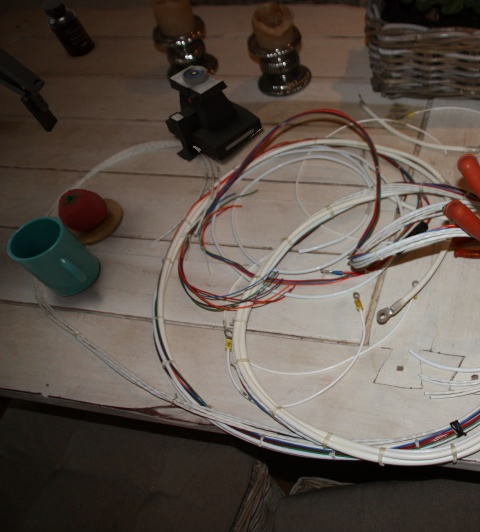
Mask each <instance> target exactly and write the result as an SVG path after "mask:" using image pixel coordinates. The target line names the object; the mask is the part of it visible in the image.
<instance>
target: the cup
mask: <svg viewBox="0 0 480 532" xmlns="http://www.w3.org/2000/svg"><path fill="white" fill-rule="evenodd" d="M6 251H7V255H8V256H9V257H10V258H11V259H12V260H13V261H14V262H15V263H17V264H18V265H19V266H20V267H21V268H22V269H24V270H25V271H26V272H27V273H28V274H30V275H31V276H32V277H33V278H35V279H36V280H37V281H38V282H40V284H42V285H43V286H45V288H46V289H48V290H49V291H50V292H51V293H54V294H55V295H57V296H62V297H69V296H73V295H76V294H80V293H82V292H83V291H85V290H86V289H88V288H89V287H90V286H91V285H92V284H93V283H94V282H95V280H96V279H97V277H98V276H99V273H100V262H99V260H98V258H97V257H96V256H95V254H93V253H92V251H91V250H90V249H89V248H88V247H87V246H86V245H84V244H83V243H82V242H81V241H80V240H79V239H78V238H77V237H76V236H75V235H74V234H73V233H72V232H71V231H70V230H69V229H68V228H67V227H66V226H65V225H64V224H63V222H62V221H61V219H60V218H57V217H55V216H54V217H53V216H41V217H36V218H33V219H31V220H28V221H27V222H26V223H24V224H22V225H20V226H19V227H18V228H17V229H15V231H14V232H13V233H12V234H11V236H10V238H9V240H8V242H7V246H6Z"/></svg>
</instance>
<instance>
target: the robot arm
mask: <svg viewBox="0 0 480 532" xmlns="http://www.w3.org/2000/svg"><path fill="white" fill-rule="evenodd" d="M45 84H46V82H45V80H44V79H43V78H41V77H40V76H38V75H37V74H36V73H34V72H33V71H32V70H31V69H29V68H28V67H27V66H25V65H24V64H23V63H21V62H20V61H19V60H18V59H16V58H15V57H14V56H13V55H11V54H10V53H8V52H7V51H6V50H4V49H3V48H2V47H1V46H0V85H1V86H4V87H5V88H7V89H9V90H10V91H12V92H13V93H15V94H17V95H19V96H21V98H20V99H19V101H21V103H22V104H23V105H24V106H25V108H26V109H27V110H28V111H29V112H30V114H31V115H32V116H33V118H35V120H36V121H37V122H38V124H39V125H40V126H41V127H42V129H43V130H44V131H45V133H51V132H52V131H53V129H54V128H55V126H56V125H57V123H58V122H59V120H58V119H57V118H56V116H55V115H54V114H53V112H52V111H51V110H50V105H49V104H48V102H47V100H46V99H45V98H44V97H43V96H42V94H41V93H40V92H41V91H42V89H43V88H44V86H45Z"/></svg>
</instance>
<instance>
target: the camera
mask: <svg viewBox="0 0 480 532" xmlns="http://www.w3.org/2000/svg"><path fill="white" fill-rule="evenodd" d="M169 84H170V88H171V89H172V90H175V91H176V92H178V97H179V98H178V99H179V108H180V111H176V112H174V113H173V114H170V115H169V116H168V119H166V120H164V123H165V125H166V127H167V129H168V131H169V133H171V134H172V135H174V136H176V137H177V138H178V140H179V142H180V144H181V146H182V148H181V149H180V150H179V151H178V152H177V153H176V155H178V156H180V157H181V158H183V159H185V161H186V160H187V161H190V160H192V159H193V158H194V157H196V156H197V155H199V154H198V151H197V150H196V149H195V148H193V146H196V147H198V148H200V149H201V150H202V152H204V153H206V154H207V155H209V156H211V157H212V158H214V159H216V160H218V161H220V160H222V159H223V158H226V156H228V155H230V154H231V153H232V152H234V151H235V150H236V149H238V148H239V147H241V146H242V145H243V144H245V143H246V142H247V141H249V140H250V139H251V138H250V137H251V136H252V135H253V134H255V133H256V132H257V131H258V130H259V129H261V128H263V125H262V122H261V119H260V117H259V116H257V115H256V114H254V113H253V112H251V111H250V110H249V109H247V108H246V107H243V106H242V105H240V104H238V103H235V102H234V101H231V100H230V99H229V98H228V97H227V95H226V94H225V93H224V92H223V91H224V90H225V89H227V88H228V85H227V84H226V82H225V80H223V79H222V78H219V77H218V76H216V75H213V74H212V73H209V72H207V69H206V68H205V67H204V66H201V65H192V64H191V65H190V66H188V67H186V68H185V69H183V70H180V71H179V72H178V73H176V74H174V75H172V76H171V77H169ZM249 138H250V139H249ZM248 139H249V140H248ZM244 142H245V143H244Z"/></svg>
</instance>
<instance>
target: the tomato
mask: <svg viewBox="0 0 480 532" xmlns="http://www.w3.org/2000/svg"><path fill="white" fill-rule="evenodd" d="M103 198H104V197H102V196H101V195H100V194H98V193H97V192H96V191H92V190H89V189H85V188H72V189H68V190H67V191H65V192H64V193H63V194H62V195H61V196H60V198H59V200H58V209H57V215H58V219H59V220H60V221H61V222H62V223H63V224H64V225H65V226H66V227H68V228H69V229H71V230H74V231H82V232H84V231H88V230H91V229H92V228H94V227H95V226H97V225H98V224H99V223H101V222H102V221H103V220H104V219H105V217H106V216H107V205H106V203H105V201H104V200H103Z"/></svg>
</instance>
